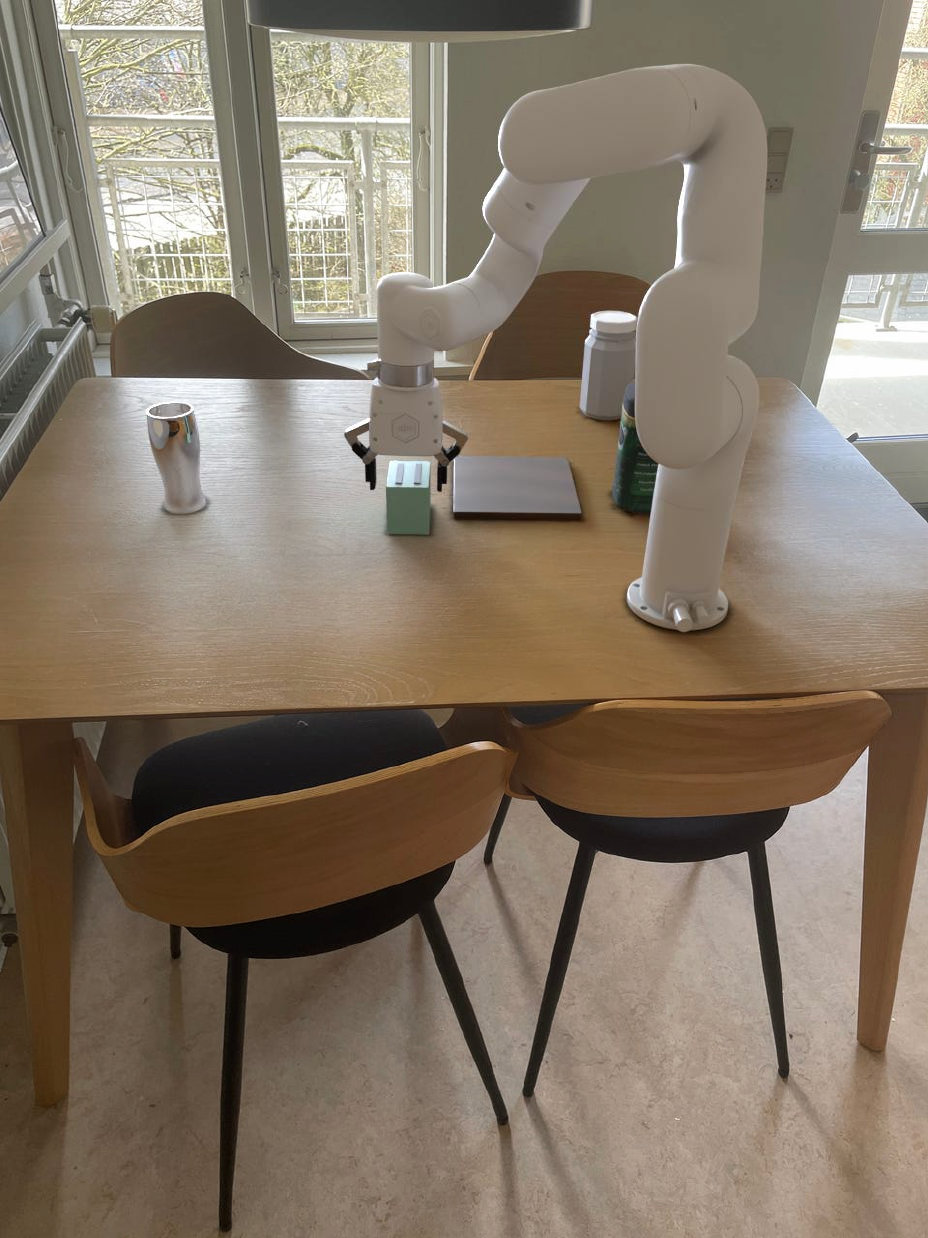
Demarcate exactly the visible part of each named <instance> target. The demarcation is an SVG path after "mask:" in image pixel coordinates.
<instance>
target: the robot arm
mask: <svg viewBox="0 0 928 1238" xmlns="http://www.w3.org/2000/svg"><path fill="white" fill-rule="evenodd" d="M497 147H498V152H499V153H498V154H499V157H500V160H501V163H502V165H503V169H502V171H501V173H500V174H499V176H498V177H497V179H496V181H495V182H494V183H493V185H492V187H491V189H490V190H489V192H488V193H487V195H486V196H485V198H484V201H483V205H482V215H483V218H484V220H485V222H486V224H487V225H488V227H489V229H490V230H491V231H492V232H493V236H492V239H491V241H490V243H489V245H488V247H487V249H486V250H485V252H484V254H483V256H482V257H481V259H480V260H479V261H478V264H477V265H476V266H475V267H474V269H473V271H472V272H471V273H470V274H469V276H468V277H464V278H461V279H458V280H455V281H452V282H449V283H447V284H443V285H437V286H435V285H434V282H433V281H432V280H431V278H429V277H428V276H426V275H423V274H420V273H415V272H395V273H394V272H393V273H390V274H386V275H384V276H382V277H381V278H380V279H379V281H378V283H377V285H376V324H377V325H376V328H377V330H376V331H377V358H376V359H375V360H372V361H367V364H366V366H367V367H366V370H367V373H372V374H375V376H377V377H375V378H374V379H373V381H372V385H371V390H370V396H369V397H370V398H369V416H368V417H369V418H367V419H365V420H362V421H361V422H358V423H356V424H354V425H352V426H349V427H348V428H346V429H345V430H344V432H343V436H344V438H345V440H346V441H347V444H348V446H350V448H351V451H352V452H353V453H354V454H355V455H356V456H357V457H358V458H359V459H360V460H362V463H363V464H364V474H365V475H364V477H365V479H364V480H365V481H364V482H365V483H369V490H370V491H374V490H376V487H377V458H376V457H377V456H378V455H379V456H387V457H388V456H390V457H391V456H392V457H434V458H435V459H436V461H437V463H436V465H437V466H436V467H437V468H436V469H437V470H436V492H438V493H443V485H447V484H448V466H449V465H450V463H451V462H452V461H454V458H455V457H457V456H460V454H461V451H462V449H463V448H464V447H465V445H466V443H467V441H468V440H469V434H468V432H466V431H465V430H463V429H461V428H460V427H457V426H455V425H453V424H452V423H450V422H448V421H446V420H444V419H443V402H442V394H441V387H440V383H439V380H438V379H437V378H436V377H435V351H440V352H447V351H453V350H455V349H458V348H460V347H462V346H464V345H466V344H467V345H468V344H469V343H471V342H472V341H475V340H477V339H479V338H481V337H484V336H486V335H489V334H491V333H493V332H495V331H496V330H497V329H499V328H500V327H501V326H502V325H503V324H504V323H505V322H506V321H507V320H508V318H509V317H510V316H511V314H512V313H513V311H514V310H516V308H517V306H518V305H519V303H520V302H521V301H522V299H523V298H524V297H525V295H526V293H527V292H528V291H529V289H530V288H531V286H532V284H533V282H534V280H535V278H536V276H537V274H538V271H539V267H540V265H541V261H542V259H543V256H544V255H543V254H544V248H545V246H546V244H547V242H548V241H549V239H550V238H551V237H552V235H553V233H554V232H555V231H556V229H557V228H558V227H559V225H560V224H561V222H562V220H563V219H564V217H565V216H566V214H567V213H568V212H569V210H570V208H571V207H572V206H573V204H574V203H575V201H576V200H577V199H578V197H579V195H580V194H582V192H583V190H584V189H585V187H586V186H587V184H589V182H590V181H591V179H594V178H601V177H604V176H605V177H607V176H611V175H616V174H617V175H618V174H624V173H630V172H636V171H641V170H642V171H643V170H648V169H652V168H656V167H659V166H663V165H667V164H672V163H674V162H680V163H681V164H682V166H683V169H684V178H683V185H682V188H681V193H680V198H679V203H678V209H677V241H676V255H675V264H674V268H672V269H670V270H669V271H666V272H665V273H663V274H662V275H661V276H660V277H659V278H657V279H656V280H655V281H654V282H653V284H652V285H651V286H650V287H649V289H648V290H647V292H646V294H645V295H644V297H643V300H642V302H641V305H640V307H639V311H638V315H637V321H636V330H635V340H636V363H635V372H634V381H635V422H636V429H637V434H638V437H639V440H640V442H641V445H642V447H643V448H644V450H645V451H646V453H647V454H648V455H649V456H650V457H651V458H652V459H653V460H654V461H655V462H657V463H658V470H657V476H656V482H655V488H654V495H653V502H652V509H651V513H650V517H649V524H648V525H649V526H648V529H647V530H648V532H647V538H646V545H645V551H644V552H645V553H644V558H643V559H644V560H643V567H642V574H641V576H640V577H639V578H637V579H634V581H632V582H631V584H630V585H629V586H628V588H627V593H626V602H627V605H628V607H629V608H630V610H631V611H632V612H633V613H634V614H635V615H636V616H638V617H639V618H641V619H642V620H644V621H646V622H647V623H650V624H652V625H655V626H657V627H661V628H664V629H669V630H673V631H674V630H675V631H679V632H681V633H686V632H690V631H699V630H704V629H708V628H711V627H714V626H716V625H718V624H719V623H721V622H722V621H723V620H724V619H725V618H726V617H727V614H728V610H729V599H728V597H727V596H726V594H725V593H724V591H723V590H721V589H720V584H721V583H720V582H721V577H722V572H723V567H724V561H725V557H726V552H727V547H728V543H729V536H730V532H731V527H732V526H731V525H732V520H733V516H734V511H735V506H736V501H737V498H738V492H739V487H740V483H741V477H742V473H743V468H744V464H745V460H746V456H747V453H748V449H749V446H750V443H751V439H752V436H753V433H754V430H755V426H756V423H757V419H758V415H759V414H758V413H759V410H760V387H759V383H758V381H757V378H756V375H755V373H754V372H753V370H752V369H751V367H749V366H748V364H746V363H745V362H744V360H741V359H740V358H738V357H736V356H734V355H731V354H728V353H729V346H730V345H732V344H733V343H735V341H737V340H739V339H740V338H741V337H742V336H743V335H744V334H745V333H746V332H747V331H748V330H749V329H750V327H751V326H752V325H753V324H754V322H755V319H756V317H757V314H758V311H759V303H760V288H761V287H760V285H761V268H762V267H761V266H762V254H763V243H764V241H763V240H764V216H765V200H766V189H767V175H768V140H767V131H766V127H765V123H764V120H763V115H762V113H761V111H760V109H759V107H758V105H757V102H756V101H755V100H754V98H753V97H752V95H751V94H750V92H748V91H747V90H746V89H745V87H744V86H743V85H741V83H739V82H738V81H737V80H735V79H734V78H732V77H731V76H729V75H727V74H725V73H724V72H722V71H719V70H717V69H716V68H712V67H709V66H706V65H701V64H694V63H674V64H666V65H652V66H643V67H636V68H631V69H626V70H623V71H618V72H614V73H609V74H606V75H601V76H598V77H593V78H589V79H586V80H581V81H576V82H573V83H570V84H564V85H560V86H555V87H550V88H545V89H539V90H534V91H531V92H528V93H527V94H524V95H522V96H521V97H520V98H519V99H517V100H516V101H515V102H514V103H513V104H512V105H511V106H510V108H509V109H508V110H507V112H506V114H505V115H504V117H503V120H502V121H501V125H500V127H499V132H498V144H497ZM367 432H368V443H369V445H368V446H367V447H366V446H365V445H364V444H363V443H362V442H361V441H360V440H359V438H358V436H360V435H363V434H365V433H367ZM444 434H445V435H447V436H449V437H451V438H452V439H455V440H454V443H453V444H452V445H450V446H449V447H448V448H447V449H446V447H445V446H444V445H443V437H444Z"/></svg>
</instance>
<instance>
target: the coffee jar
mask: <svg viewBox="0 0 928 1238" xmlns="http://www.w3.org/2000/svg"><path fill="white" fill-rule="evenodd" d="M657 470H658V463H657V462H655V461H654V460H653V459H652V458H651V457H650V456H649V455H648V454H647V453H646V451H645V450H644V448H643V447H642V445H641V442H640V440H639V437H638V434H637V429H636V422H635V380H633V382H632V383H630V384H629V385H628V386H627V387H626V388H625V392H624V398H623V404H622V415H621V418H620V426H619V433H618V442H617V451H616V458H615V467H614V473H613V481H612V490H611V491H612V492H611V494H612V499H613V501H614V503H615V505H616V507H618V509H620V510H622V511H627V512H629V513H634V514H640V515H646V514H651V509H652V502H653V495H654V488H655V482H656V476H657Z"/></svg>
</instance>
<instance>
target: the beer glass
mask: <svg viewBox="0 0 928 1238" xmlns="http://www.w3.org/2000/svg"><path fill="white" fill-rule="evenodd" d="M194 409H195V408H194V406H193V405H192V404H189V403H187V402H181V401H168V402H162V403H157V404H153V405H152V406H149V408H147V409H146V411H145V414H146V425H147V433H148V441H149V445H150V449H151V450H150V451H151V452H152V455H153V459H154V462H155V464H156V467H157V469H158V472H159V475H160V478H161V480H162V485H163V490H164V491H163V493H164V494H163V496H164V497H163V507H164V509H165V510H166V511H167V512H168V513H170V514H176V515H187V514H188V515H189V514H192V513H193V514H194V513H196V512H200V511H201V510H202V509H204V508H205V507H206V504H207V500H206V497H205V494H204V492H203V488H202V485H201V478H200V476H201V473H200V470H201V469H200V468H201V440H200V439H201V437H200V433H199V427H198V423H197V418H196V414H195V410H194Z"/></svg>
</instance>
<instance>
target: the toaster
mask: <svg viewBox="0 0 928 1238" xmlns="http://www.w3.org/2000/svg"><path fill="white" fill-rule="evenodd" d="M431 474H432V473H431V461H421V460H418V461H417V460H390V461H389V464H388V471H387V478H386V484H385V500H386V501H385V505H386V529H387V530H386V534H387V535H421V536H422V535H425V536H426V535H427V536H428V535H430V528H431V527H430V525H431V509H432V508H431V507H432V506H431V505H432V503H431V502H432V501H431V499H432V498H431V497H432V496H431V488H432V486H431Z"/></svg>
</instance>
